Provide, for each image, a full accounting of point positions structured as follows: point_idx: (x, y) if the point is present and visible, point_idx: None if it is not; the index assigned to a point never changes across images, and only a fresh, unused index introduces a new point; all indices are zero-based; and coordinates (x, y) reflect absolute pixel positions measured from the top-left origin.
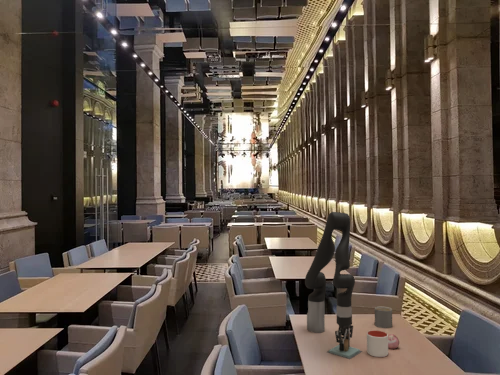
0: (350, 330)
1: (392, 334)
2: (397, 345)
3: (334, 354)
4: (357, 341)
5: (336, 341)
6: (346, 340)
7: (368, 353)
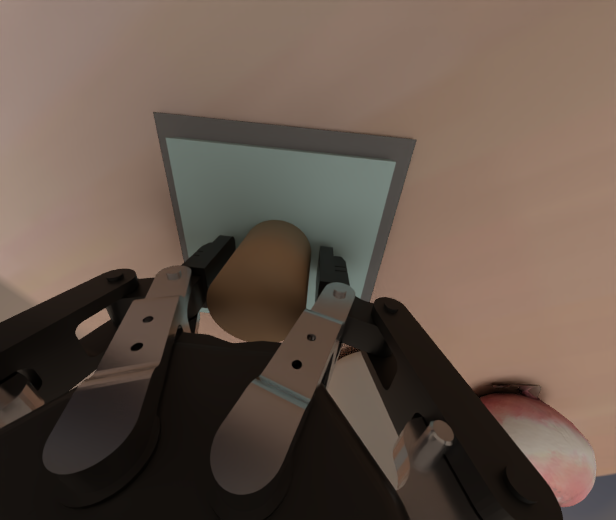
0: (405, 422)
1: (565, 506)
2: None
3: (176, 203)
4: (588, 236)
5: (101, 274)
6: (247, 332)
7: (336, 362)
